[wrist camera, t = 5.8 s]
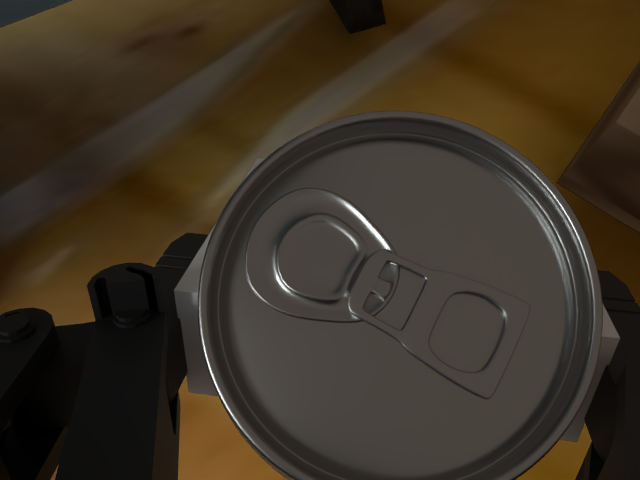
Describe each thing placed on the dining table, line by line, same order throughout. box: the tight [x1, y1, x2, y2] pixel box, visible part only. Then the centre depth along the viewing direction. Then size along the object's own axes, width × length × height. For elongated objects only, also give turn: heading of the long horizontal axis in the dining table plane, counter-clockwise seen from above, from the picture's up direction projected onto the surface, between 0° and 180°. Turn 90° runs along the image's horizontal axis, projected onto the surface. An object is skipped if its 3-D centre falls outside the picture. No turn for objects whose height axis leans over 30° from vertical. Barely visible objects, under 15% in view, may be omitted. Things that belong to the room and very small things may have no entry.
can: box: [198, 111, 603, 480], centre depth 13 cm, size 6×6×12 cm
